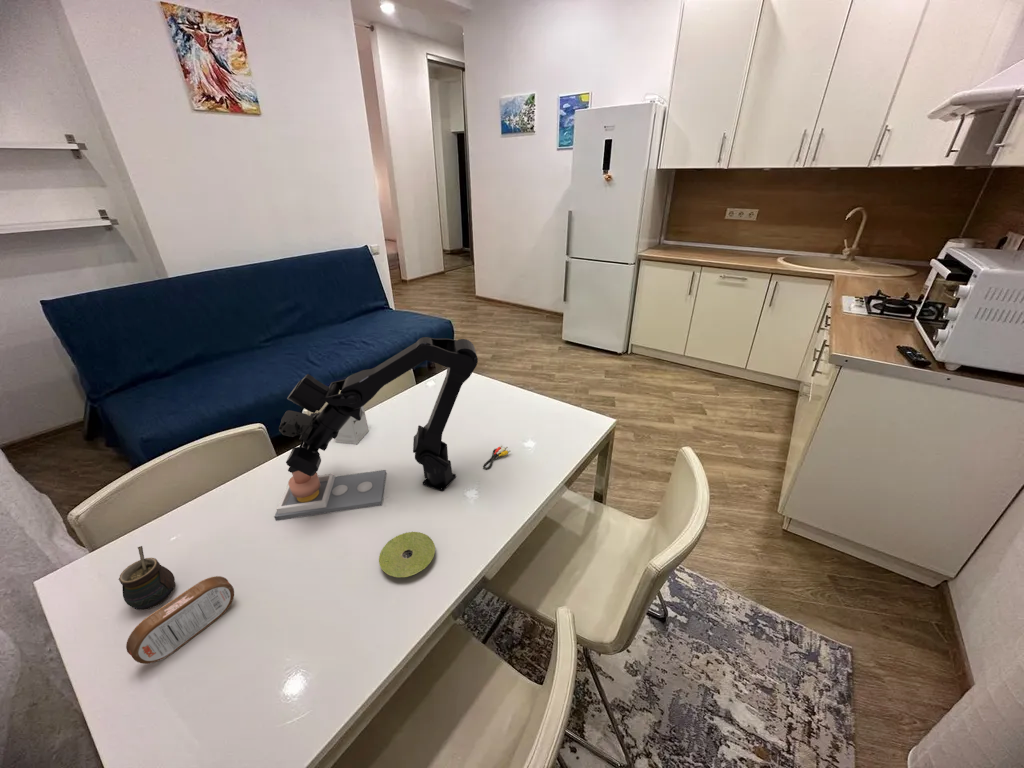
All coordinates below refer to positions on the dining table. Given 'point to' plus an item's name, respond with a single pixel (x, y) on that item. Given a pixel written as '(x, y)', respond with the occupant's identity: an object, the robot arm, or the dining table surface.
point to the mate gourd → (146, 583)
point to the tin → (180, 620)
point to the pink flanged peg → (303, 484)
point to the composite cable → (496, 456)
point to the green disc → (407, 554)
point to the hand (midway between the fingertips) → (292, 466)
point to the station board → (335, 495)
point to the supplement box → (353, 430)
